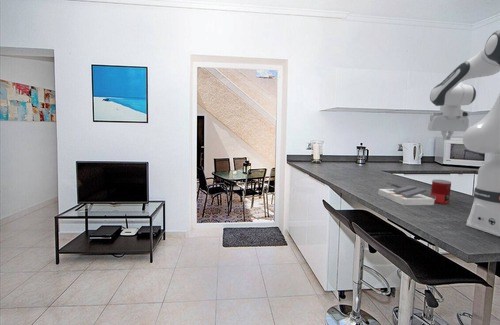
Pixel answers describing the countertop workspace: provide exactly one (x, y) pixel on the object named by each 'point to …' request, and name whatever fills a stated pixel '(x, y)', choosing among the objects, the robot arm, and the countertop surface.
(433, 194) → the canned food
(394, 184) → the far rocker
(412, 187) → the middle rocker
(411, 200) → the switch unit
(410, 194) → the near rocker
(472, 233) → the countertop surface
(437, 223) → the countertop surface
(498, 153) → the robot arm
